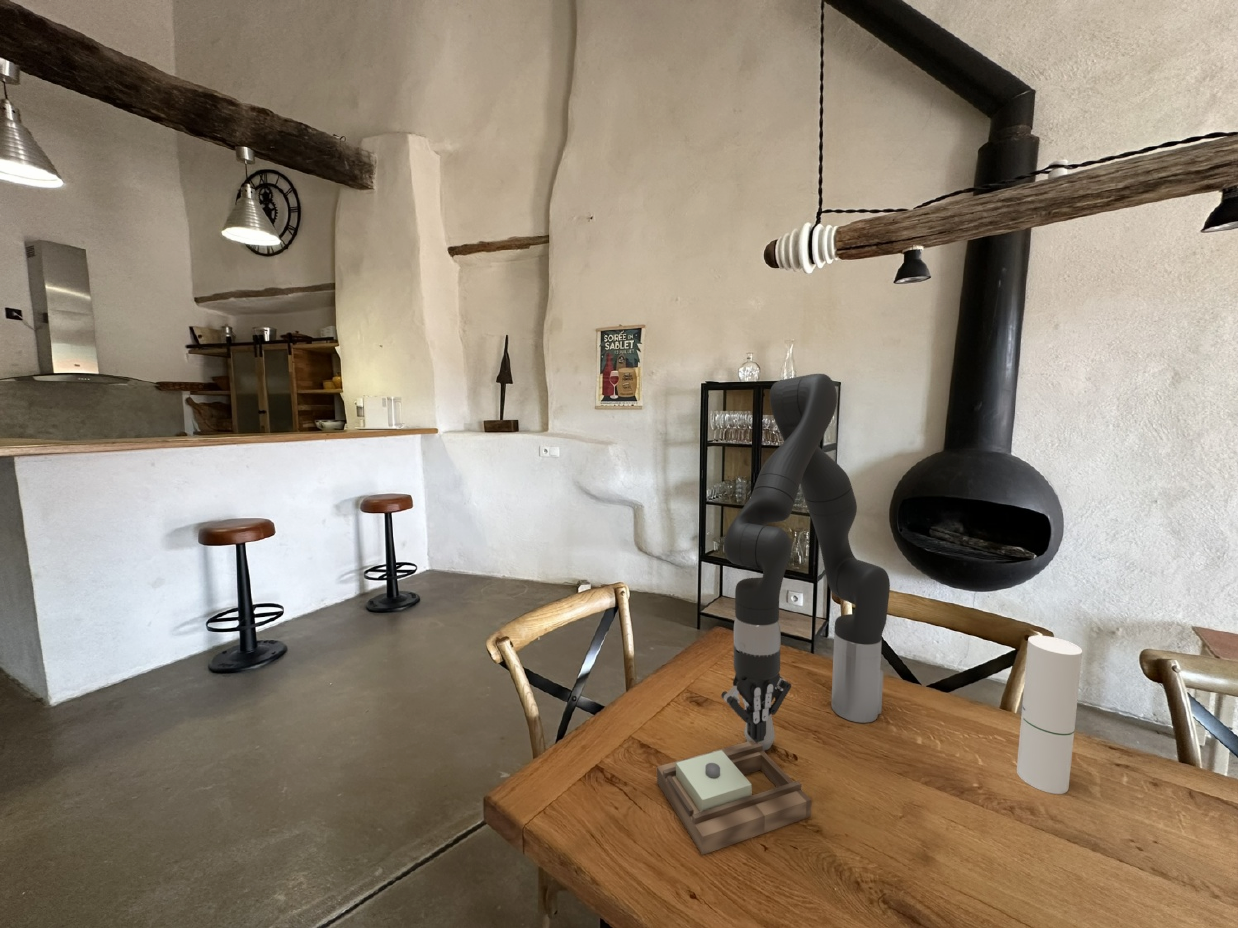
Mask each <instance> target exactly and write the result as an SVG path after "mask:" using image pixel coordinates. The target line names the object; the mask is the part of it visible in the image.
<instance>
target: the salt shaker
mask: <svg viewBox="0 0 1238 928" xmlns="http://www.w3.org/2000/svg"><path fill="white" fill-rule="evenodd" d="M772 716H773V715H772V714H770V715H769V716H768V719H767V720H766V735H765V737H764V740H763V741H760V742H757V743H756V742H755V741H754V740H753V739H752V738H751V737H750V736H749V735H748V733H747V723H746V722H745V726H744V734H743V735H744V737H745V740H746V742H748V741H751V740H753V741H754V742H755V743H756V744H758V743H761V744H762V745H763V751H764V752H766V751H767V750H769V749H771V747H772V745H773V743H774V742H775V738H776V736H775V735H776V733H775V728H774V722H773V717H772Z"/></svg>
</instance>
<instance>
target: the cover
mask: <svg viewBox="0 0 1238 928" xmlns="http://www.w3.org/2000/svg"><path fill="white" fill-rule="evenodd" d="M676 777H677V778H678V780H679V781H680V783H681V784H682V786H683V787H684V789H685V790H686V792H687V793H688V794H689V796H690V797H691V799H692V800H693V802H694V803H695V805H696V806H697V808H698V809H699V811H700V812H702V811H705V810H708V809H712V808H715V807H718V806H721V805H724V804H727V803H730V802H733V801H736V800H739V799H743V798H746V797H749V796H752V788H753V787H752V783H751V782H750V781H749V780H748V778H747V777H746V775H743V774H742V773H741V772H740V771H739V769H738V768H737V767H736V766H735V765H734V764H733V763H732V761H731V760H730V759H729V758H728V757H727V756H726V755H725V753H724V752H723V751H722V750H720V751H716V752H713V753H709V754H706V755H702V756H698V757H695V758H691V759H688V760H684V761H680V762H677V763H676Z"/></svg>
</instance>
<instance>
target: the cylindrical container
mask: <svg viewBox="0 0 1238 928" xmlns="http://www.w3.org/2000/svg"><path fill="white" fill-rule="evenodd" d="M1082 656H1083V650H1082V648H1081V647H1080V646H1078V645H1077V644H1075V643H1072V642H1071V641H1068V640H1065V639H1062V638H1057V637H1054V636H1048V635H1032V636H1029V637H1028V640H1027V650H1026V660H1025V671H1024V673H1025V674H1024V683H1023V693H1022V694H1023V695H1022V696H1023V697H1022V704H1021V705H1022V706H1021V707H1022V708H1021V715H1020V716H1021V718H1020V729H1019V740H1018V750H1017V762H1016V763H1017V764H1016V773H1017V775H1018V776H1019V778H1020V779H1021V780H1022V781H1023V782H1025V784H1027V785H1029V786H1031V787H1033V788H1035V789H1037V790H1039V791H1042V792H1045V793H1048V794H1054V795H1055V794H1056V795H1063V794H1066V793H1068V791H1069V786H1070V775H1071V768H1072V767H1071V766H1072V757H1073V748H1074V747H1073V745H1074V738H1075V737H1074V736H1075V727H1076V717H1077V710H1078V709H1077V706H1078V698H1079V687H1080V680H1081V679H1080V678H1081V677H1080V675H1081V667H1082V658H1083V657H1082Z"/></svg>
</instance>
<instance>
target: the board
mask: <svg viewBox="0 0 1238 928" xmlns="http://www.w3.org/2000/svg"><path fill="white" fill-rule="evenodd" d="M720 750H722V751H723V752H724V753H725V755H726V756H727V757H728V758H729V759H730V760H731V761H732V763H733V764H734V765H735V766H736V767H737V768H738V769H739V771H740V772H741V773H742V774H743V775H744V776H746V775H749V774H751V773H755V772H757V771H758V772H759V771H761V772H762V773H763V774H764V775H765V776H766V777H767V778H768V779H769V780H770V781H771V782H772V783H773V785H774V786H775V788H774V787H773V788H770V789H768V790H765V791H762V792H759V793H755V794H751V796H749V797H746V798H743V799H739V800H736V801H733V802H730V803H727V804H724V805H721V806H718V807H715V808H712V809H708V810H705V811H702V812H700V811H699V809H698V808H697V806H696V805H695V803H694V802H693V800H692V799H691V797H690V796H689V794H688V793H687V792H686V790H685V789H684V787H683V786H682V784H681V783H680V781H679V780H678V778H677V777H676V763H677V762H680V761H684V760H688V759H691V758H695V757H698V756H702V755H706V754H709V753H713V752H716V751H720ZM656 784H657V785H658V786H659V788H660V790H661V792H662V793H663V795H664V796H665V798H666V799H667V801H668V803H669V804H670V806H671V808H673V810H674V812H675V813H676V815H677V817H678V819H679V820H680V822H681V823H682V826H684V828H685V831H687V833H688V835H689V837H690V838H691V839H692V841H693V843H694V844H695V846H696V847H697V849H698V850H699V852H700V854H701V855H702V856H703V855H706V854H707V855H708V854H710V853H712V852H715V851H717V850H718V851H719V850H721V849H724V848H726V847H729V846H732V845H735V844H737V843H741V842H743V841H747V840H749V839H751V838H754V837H757V836H760V835H763V834H767V833H768V832H772V831H774V830H777V829H780V828H783V827H786V826H788V825H791V824H795V823H797V822H799V821H803V820H805V819H808V818H811V816H812V798H810V797H809V795H807V793H806V792H805V791H803V790H802V785H803V784H802V782H800V780H796V781H794V780H793V779H792V778H791V777H790V776H789V775H788V774H787V773H785V771H784V770H783V769H782V768H781V767H780V766H779V765H778V764H777V763H776V762H775V761H774V760H773V759H772V758H771V757H770V756H769V755H768V754H767V753H766V751H763V745H762V744H761V743H758V744H756V743H755V742H754V741H753V740H751V741H748V742H747V741H745V742H741V743H738V744H734V745H733V744H732V745H730V746H727V747H723V748H719V749H716V750H712V751H709V752H705V753H702V754H698V755H694V756H690V757H687V758H683V759H680V760H677V761H672V762H669V763H665V764H662V765H658V766H656Z"/></svg>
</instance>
